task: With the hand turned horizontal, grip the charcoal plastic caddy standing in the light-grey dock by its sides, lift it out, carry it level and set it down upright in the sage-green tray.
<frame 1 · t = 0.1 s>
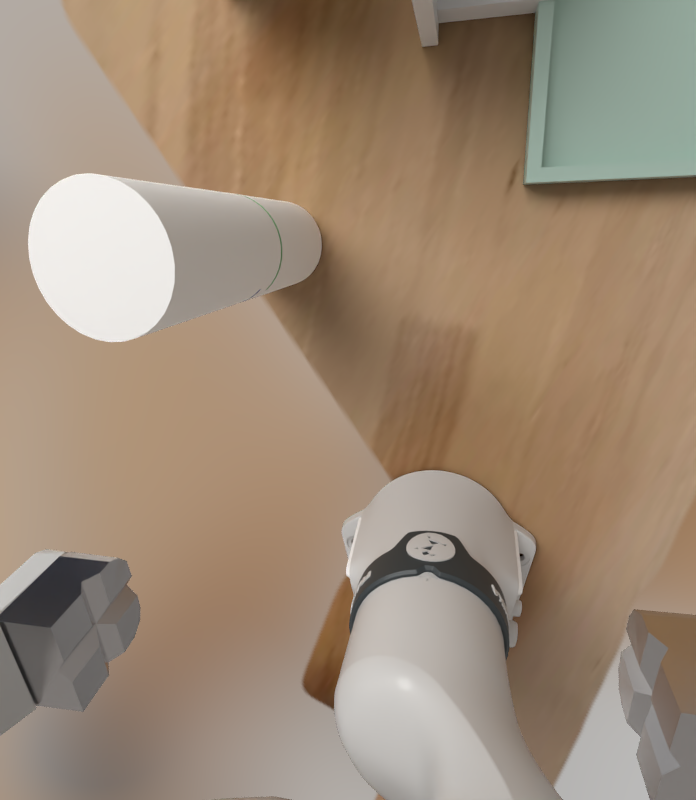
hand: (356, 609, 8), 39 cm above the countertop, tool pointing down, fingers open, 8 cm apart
tray: (633, 74, 37), on the countertop
cylindrical container: (283, 244, 46), on the countertop
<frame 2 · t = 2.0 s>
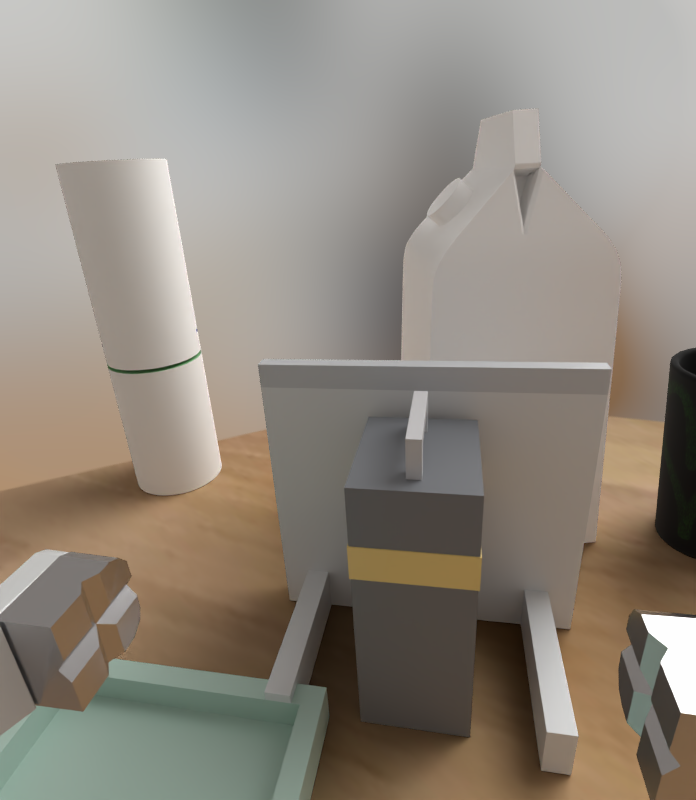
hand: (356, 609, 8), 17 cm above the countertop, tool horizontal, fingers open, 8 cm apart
dock: (418, 671, 27), on the countertop
milk: (484, 499, 40), on the countertop
cylindrical container: (180, 474, 46), on the countertop
caddy: (418, 672, 27), on the countertop
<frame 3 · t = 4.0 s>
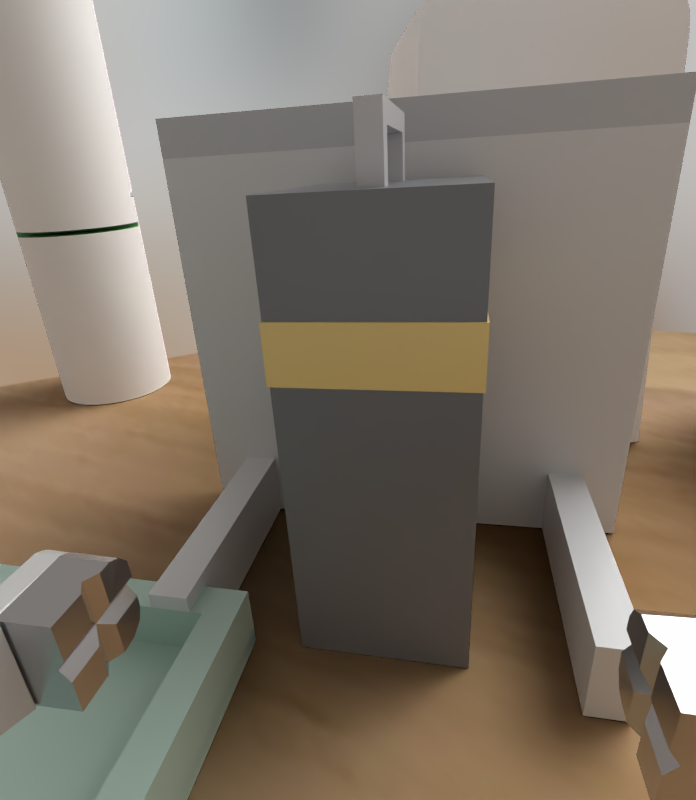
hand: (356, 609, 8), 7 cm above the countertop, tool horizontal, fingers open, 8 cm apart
dock: (394, 583, 18), on the countertop
milk: (490, 404, 32), on the countertop
cylindrical container: (120, 386, 38), on the countertop
caddy: (394, 584, 18), on the countertop
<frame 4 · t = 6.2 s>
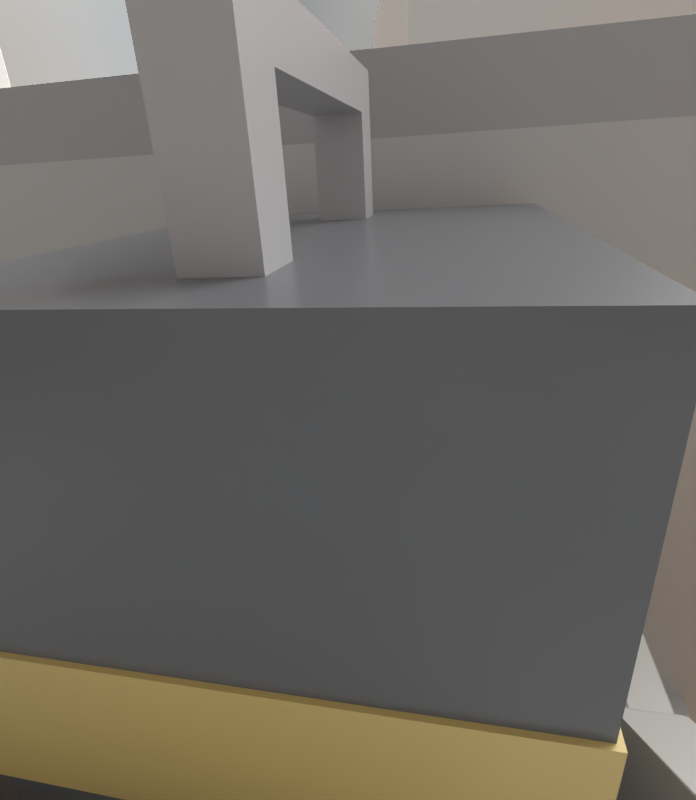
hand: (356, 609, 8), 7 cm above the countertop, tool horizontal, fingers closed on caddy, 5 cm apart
milk: (507, 488, 24), on the countertop
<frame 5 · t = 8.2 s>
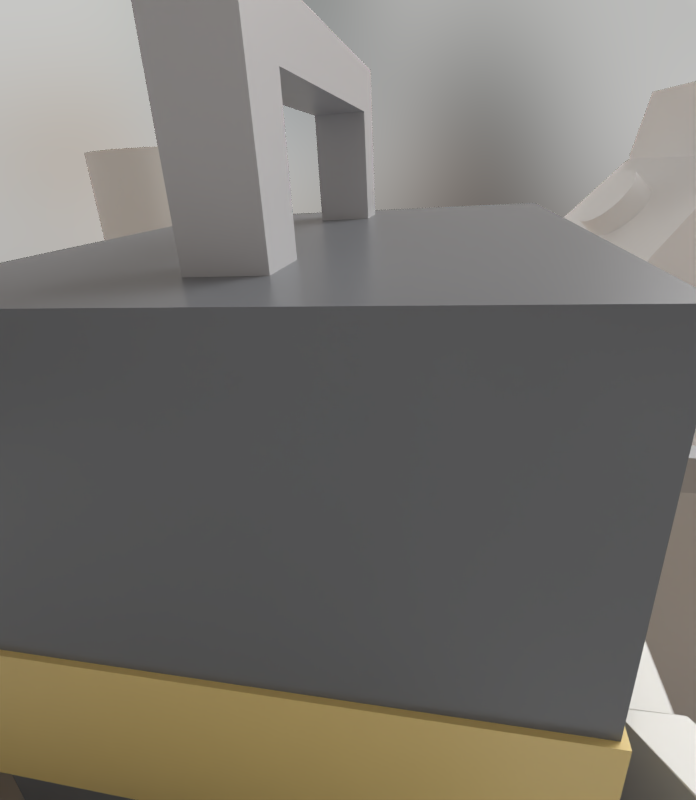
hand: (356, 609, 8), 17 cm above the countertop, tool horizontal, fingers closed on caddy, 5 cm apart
milk: (612, 579, 32), on the countertop
cylindrical container: (225, 528, 38), on the countertop
when the fingers open (9 cm above the countertop, at t = 10.5 s): caddy drops 1 cm, resting on tray.
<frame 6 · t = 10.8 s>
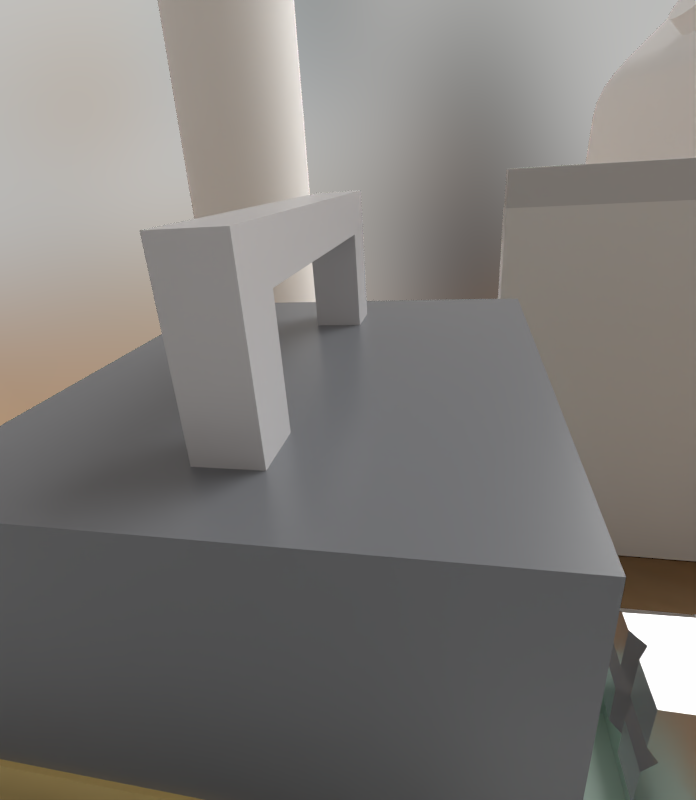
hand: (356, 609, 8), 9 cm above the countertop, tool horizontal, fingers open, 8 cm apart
milk: (681, 432, 32), on the countertop
cylindrical container: (278, 411, 38), on the countertop
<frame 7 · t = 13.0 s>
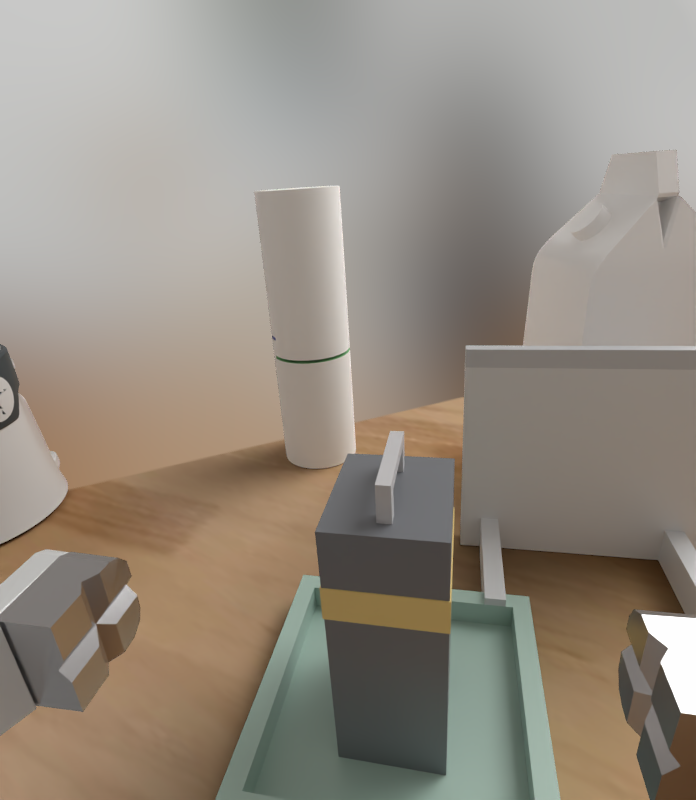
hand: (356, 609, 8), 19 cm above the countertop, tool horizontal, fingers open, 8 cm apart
dock: (586, 592, 34), on the countertop
milk: (595, 470, 47), on the countertop
tray: (399, 711, 27), on the countertop
cylindrical container: (321, 452, 54), on the countertop
caddy: (398, 706, 27), resting on tray
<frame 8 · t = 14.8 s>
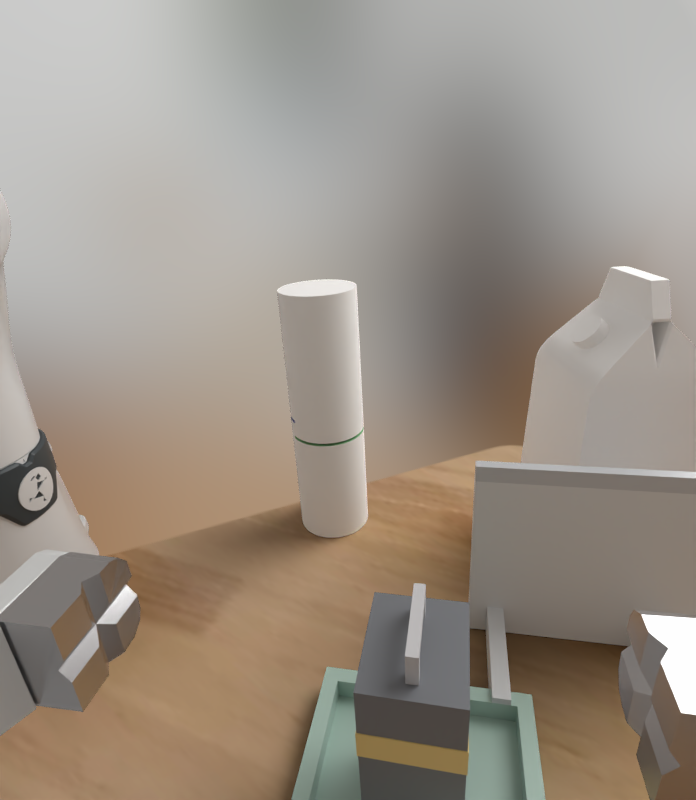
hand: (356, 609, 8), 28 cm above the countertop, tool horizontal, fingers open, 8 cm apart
dock: (583, 683, 37), on the countertop
milk: (592, 544, 51), on the countertop
cylindrical container: (335, 518, 57), on the countertop
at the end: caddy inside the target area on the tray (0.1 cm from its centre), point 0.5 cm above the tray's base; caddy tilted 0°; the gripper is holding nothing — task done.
